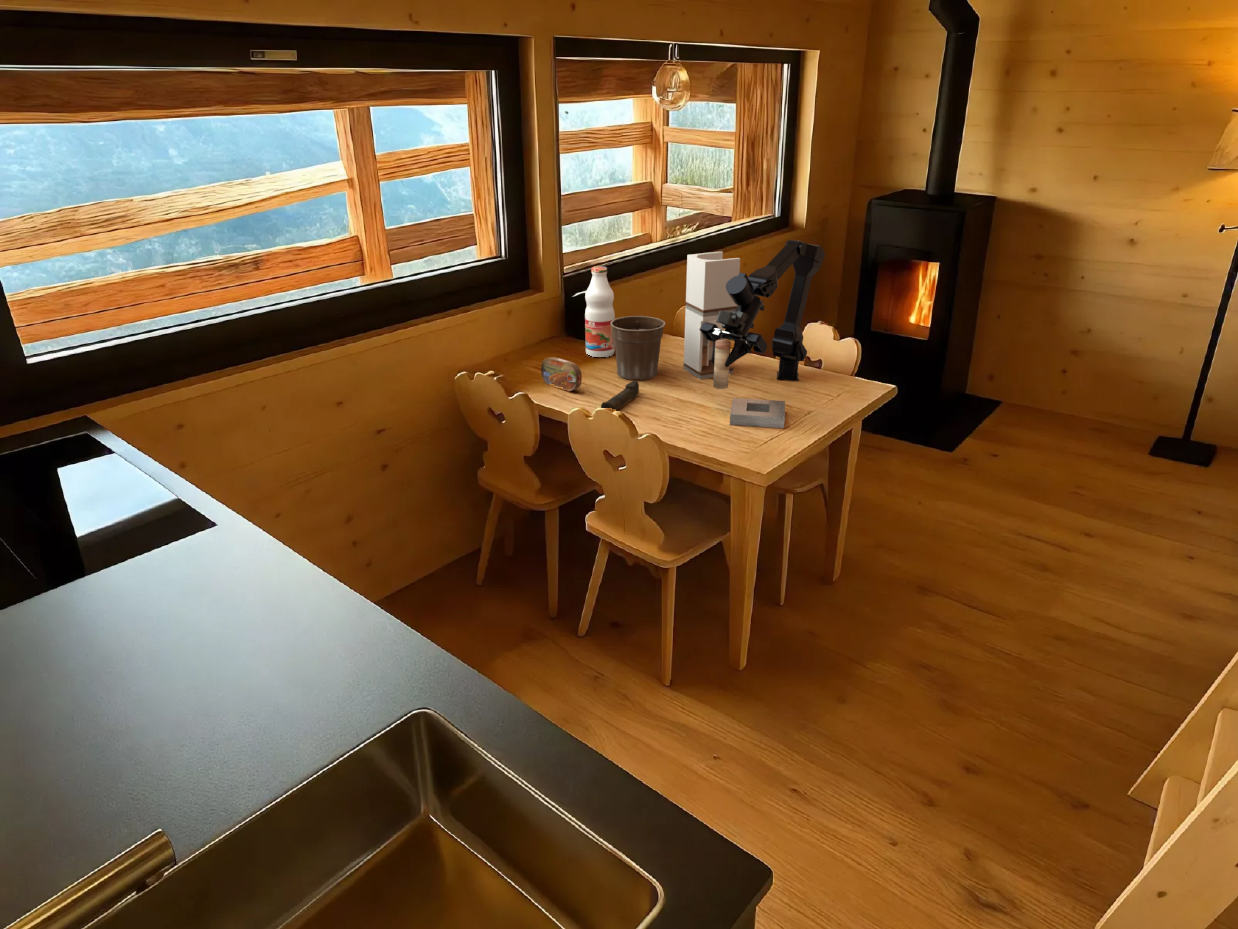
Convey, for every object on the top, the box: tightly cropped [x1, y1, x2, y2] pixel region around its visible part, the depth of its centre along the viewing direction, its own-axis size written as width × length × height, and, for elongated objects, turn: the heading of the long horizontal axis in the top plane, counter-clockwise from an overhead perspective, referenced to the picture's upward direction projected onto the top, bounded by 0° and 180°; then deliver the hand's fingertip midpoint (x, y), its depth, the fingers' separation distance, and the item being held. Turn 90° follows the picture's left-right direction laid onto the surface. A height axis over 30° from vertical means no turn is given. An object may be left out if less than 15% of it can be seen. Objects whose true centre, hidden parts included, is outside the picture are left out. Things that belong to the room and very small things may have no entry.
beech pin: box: [712, 339, 732, 390], centre depth 224 cm, size 4×4×12 cm
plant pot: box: [611, 315, 666, 381], centre depth 253 cm, size 16×16×16 cm
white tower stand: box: [683, 251, 741, 380], centre depth 251 cm, size 11×11×35 cm
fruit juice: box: [584, 265, 616, 358], centre depth 268 cm, size 9×9×28 cm
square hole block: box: [729, 397, 786, 429], centre depth 225 cm, size 12×14×3 cm
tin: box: [540, 356, 583, 392], centre depth 245 cm, size 15×3×8 cm, turn 47°
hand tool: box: [600, 380, 640, 410], centre depth 234 cm, size 19×4×5 cm, turn 150°
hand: (718, 364), depth 223 cm, fingers closed on beech pin, 4 cm apart
